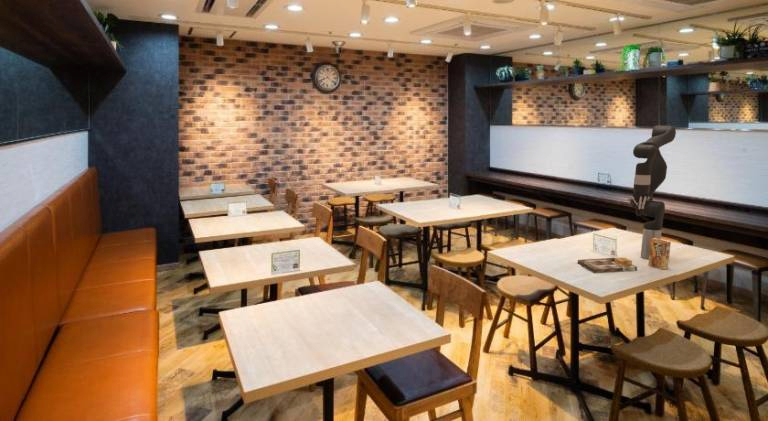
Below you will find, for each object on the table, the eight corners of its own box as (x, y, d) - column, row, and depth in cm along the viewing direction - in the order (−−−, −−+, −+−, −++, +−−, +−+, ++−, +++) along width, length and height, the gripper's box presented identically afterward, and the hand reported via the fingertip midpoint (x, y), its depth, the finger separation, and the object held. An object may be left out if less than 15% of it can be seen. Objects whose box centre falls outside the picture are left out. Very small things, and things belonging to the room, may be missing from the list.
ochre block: (624, 262, 264) (625, 257, 263) (631, 266, 258) (632, 260, 257) (614, 263, 263) (614, 257, 262) (621, 266, 257) (621, 261, 256)
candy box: (668, 268, 259) (671, 240, 256) (664, 269, 257) (667, 242, 254) (651, 264, 266) (654, 237, 263) (647, 265, 264) (650, 238, 261)
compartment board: (617, 261, 273) (617, 255, 272) (636, 270, 256) (637, 264, 256) (577, 263, 270) (578, 257, 269) (594, 272, 253) (594, 266, 253)
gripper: (648, 181, 256) (645, 213, 259) (625, 182, 254) (622, 214, 257) (658, 183, 248) (655, 216, 252) (634, 184, 247) (631, 217, 250)
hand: (638, 215), depth 254 cm, fingers closed
